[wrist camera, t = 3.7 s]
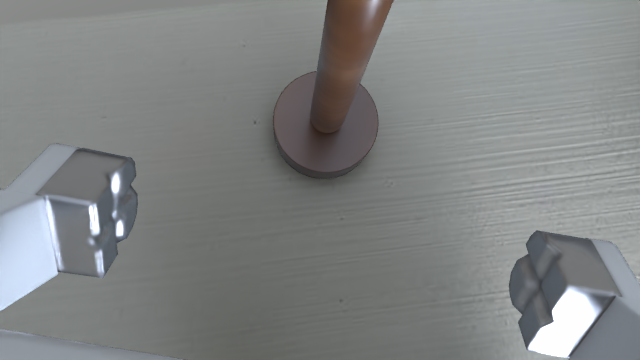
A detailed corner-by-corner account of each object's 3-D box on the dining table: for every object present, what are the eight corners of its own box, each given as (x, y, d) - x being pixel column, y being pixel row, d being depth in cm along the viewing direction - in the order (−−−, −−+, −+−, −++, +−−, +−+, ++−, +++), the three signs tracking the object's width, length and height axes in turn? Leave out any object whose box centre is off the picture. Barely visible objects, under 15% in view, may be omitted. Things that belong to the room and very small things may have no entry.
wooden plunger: (265, 169, 28) (208, -85, 7) (283, 75, 29) (276, -378, 8) (364, 186, 28) (570, -14, 8) (378, 92, 29) (596, -308, 9)
